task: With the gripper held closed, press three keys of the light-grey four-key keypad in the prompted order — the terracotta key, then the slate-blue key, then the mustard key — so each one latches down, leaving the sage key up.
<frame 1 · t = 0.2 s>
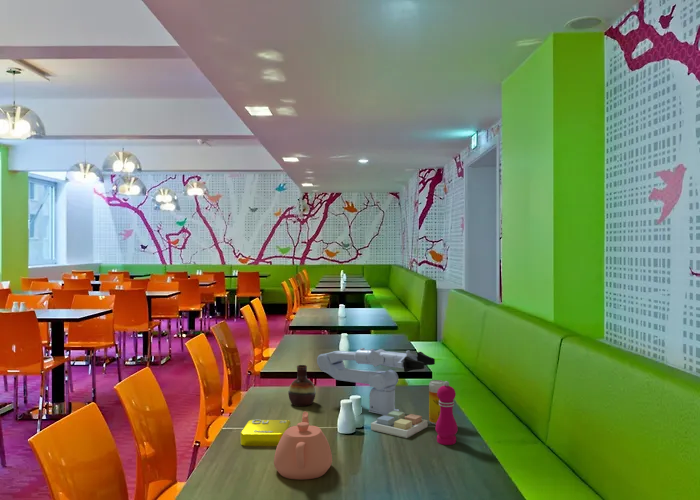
hand: (429, 363, 207), 21 cm above the table, tool horizontal, fingers open, 7 cm apart
element tile: (266, 439, 190), on the table
keypad base: (399, 428, 200), on the table
sage key: (396, 416, 205), point 3 cm above the table, slide at 0.0 cm
vase: (302, 404, 231), on the table
beer can: (437, 423, 206), on the table
slate-blue key: (385, 420, 199), point 3 cm above the table, slide at 0.0 cm
pepper mill: (446, 442, 186), on the table
terracotta key: (413, 419, 200), point 3 cm above the table, slide at 0.0 cm
mustard key: (402, 424, 195), point 3 cm above the table, slide at 0.0 cm
teapot: (303, 468, 165), on the table
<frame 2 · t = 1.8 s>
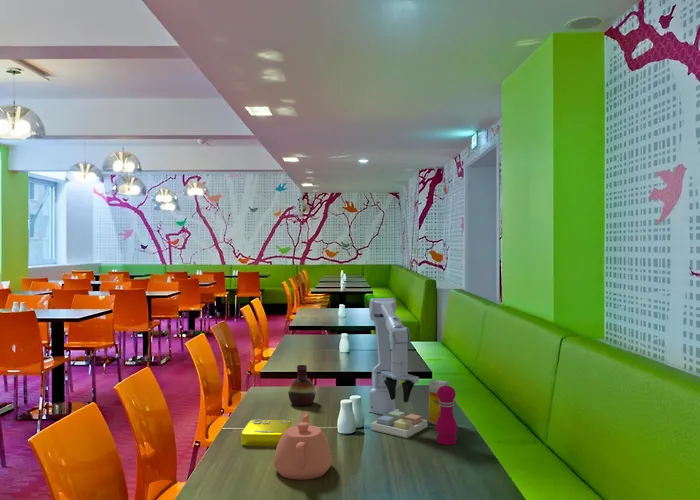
hand: (399, 400, 200), 10 cm above the table, tool pointing down, fingers open, 5 cm apart
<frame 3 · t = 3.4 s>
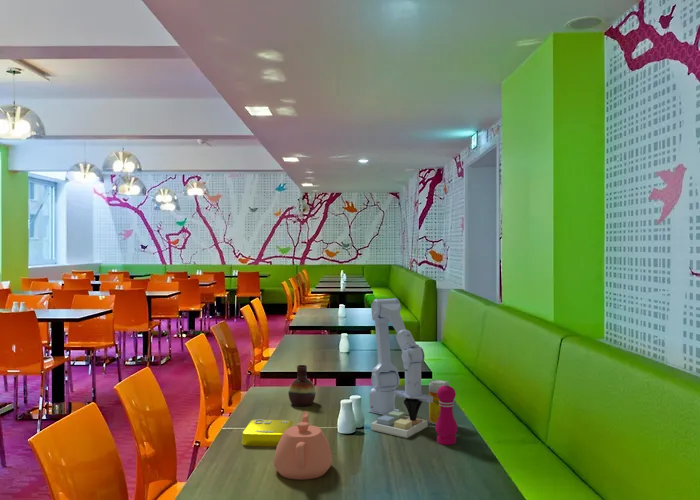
hand: (413, 419, 200), 3 cm above the table, tool pointing down, fingers closed, pressing on terracotta key
terracotta key: (413, 422, 200), point 2 cm above the table, slide at 1.1 cm, touching gripper
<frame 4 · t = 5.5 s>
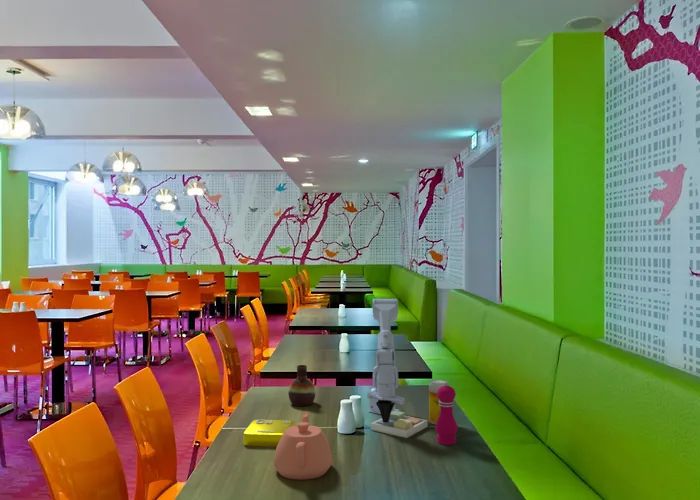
hand: (385, 421, 199), 3 cm above the table, tool pointing down, fingers closed, pressing on slate-blue key
slate-blue key: (385, 424, 199), point 2 cm above the table, slide at 1.2 cm, touching gripper
terracotta key: (413, 423, 200), point 2 cm above the table, slide at 1.2 cm
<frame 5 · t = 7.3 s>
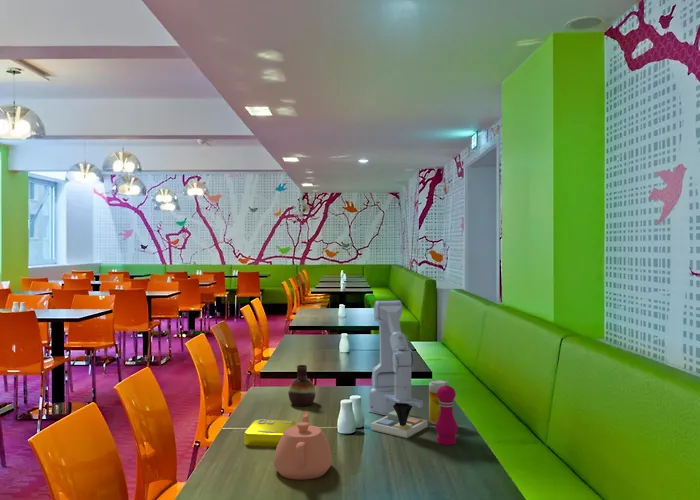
hand: (403, 424, 195), 3 cm above the table, tool pointing down, fingers closed, pressing on mustard key
slate-blue key: (385, 424, 199), point 2 cm above the table, slide at 1.2 cm
mustard key: (403, 427, 195), point 2 cm above the table, slide at 1.1 cm, touching gripper
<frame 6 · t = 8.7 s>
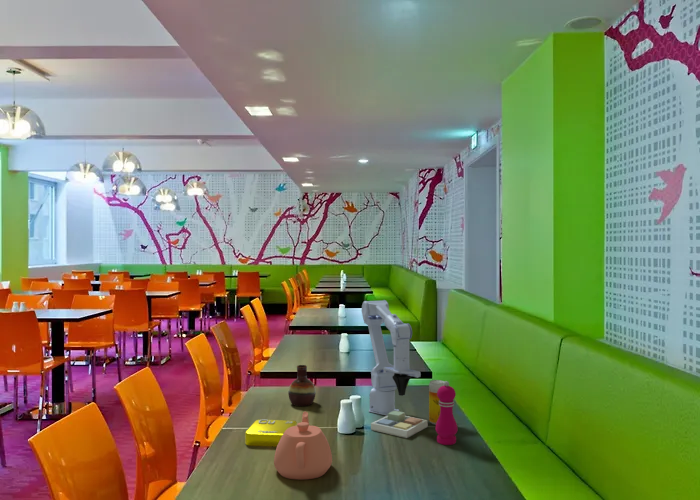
hand: (401, 394, 205), 10 cm above the table, tool pointing down, fingers closed
mustard key: (403, 428, 195), point 2 cm above the table, slide at 1.2 cm
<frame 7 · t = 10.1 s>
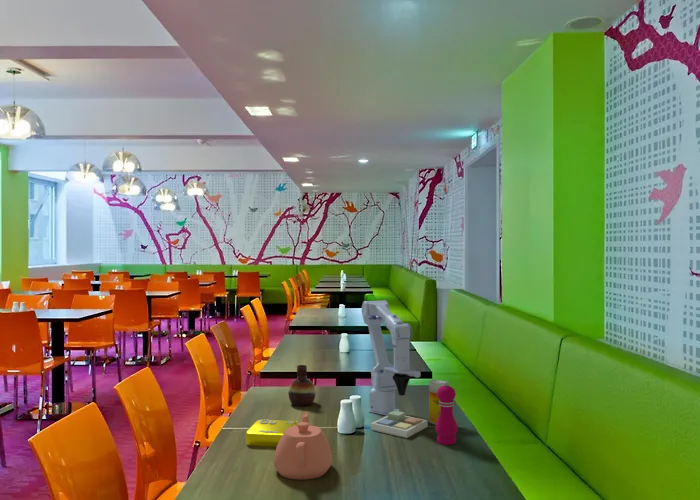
hand: (401, 394, 205), 10 cm above the table, tool pointing down, fingers closed
at the end: terracotta key slide at 1.2 cm; slate-blue key slide at 1.2 cm; mustard key slide at 1.2 cm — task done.
